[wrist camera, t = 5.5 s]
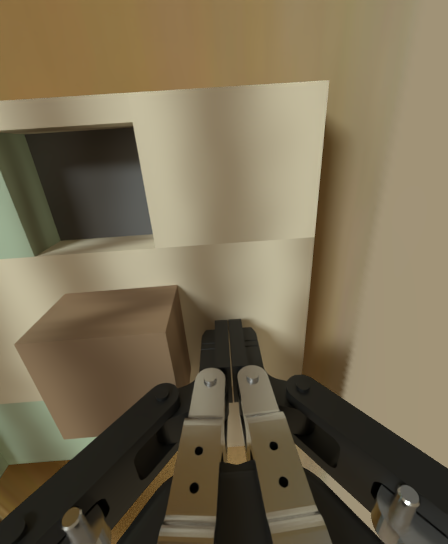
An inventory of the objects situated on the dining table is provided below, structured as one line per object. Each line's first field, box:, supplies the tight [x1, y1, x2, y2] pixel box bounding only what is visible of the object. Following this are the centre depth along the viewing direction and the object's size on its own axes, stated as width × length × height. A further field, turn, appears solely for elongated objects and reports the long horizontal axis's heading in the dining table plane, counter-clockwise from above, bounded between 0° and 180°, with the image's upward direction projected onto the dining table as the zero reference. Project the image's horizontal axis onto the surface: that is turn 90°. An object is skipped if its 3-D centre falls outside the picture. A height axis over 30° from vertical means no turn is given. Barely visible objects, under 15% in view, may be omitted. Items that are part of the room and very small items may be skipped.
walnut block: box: [14, 285, 191, 440], centre depth 14 cm, size 6×6×4 cm
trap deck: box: [0, 80, 329, 478], centre depth 16 cm, size 24×23×4 cm
